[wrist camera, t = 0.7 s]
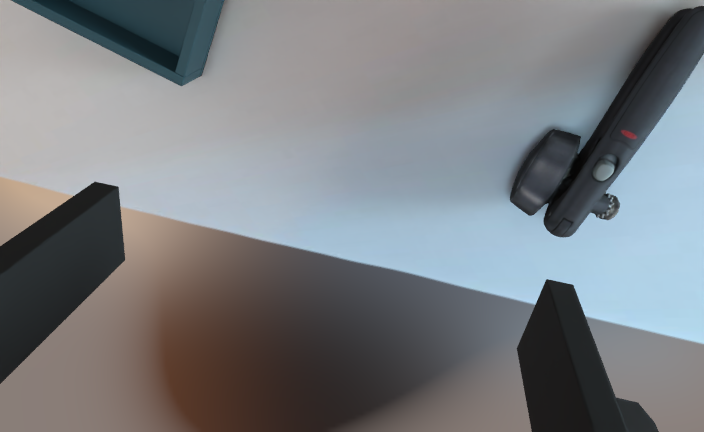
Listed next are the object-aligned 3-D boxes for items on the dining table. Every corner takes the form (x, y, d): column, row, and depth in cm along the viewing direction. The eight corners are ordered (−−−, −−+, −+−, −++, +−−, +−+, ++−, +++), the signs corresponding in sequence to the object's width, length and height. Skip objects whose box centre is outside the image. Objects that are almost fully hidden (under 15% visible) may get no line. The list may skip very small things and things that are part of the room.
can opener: (568, 227, 42) (584, 263, 38) (497, 189, 42) (504, 221, 37) (739, 30, 34) (789, 45, 29) (652, -21, 33) (689, -15, 28)
